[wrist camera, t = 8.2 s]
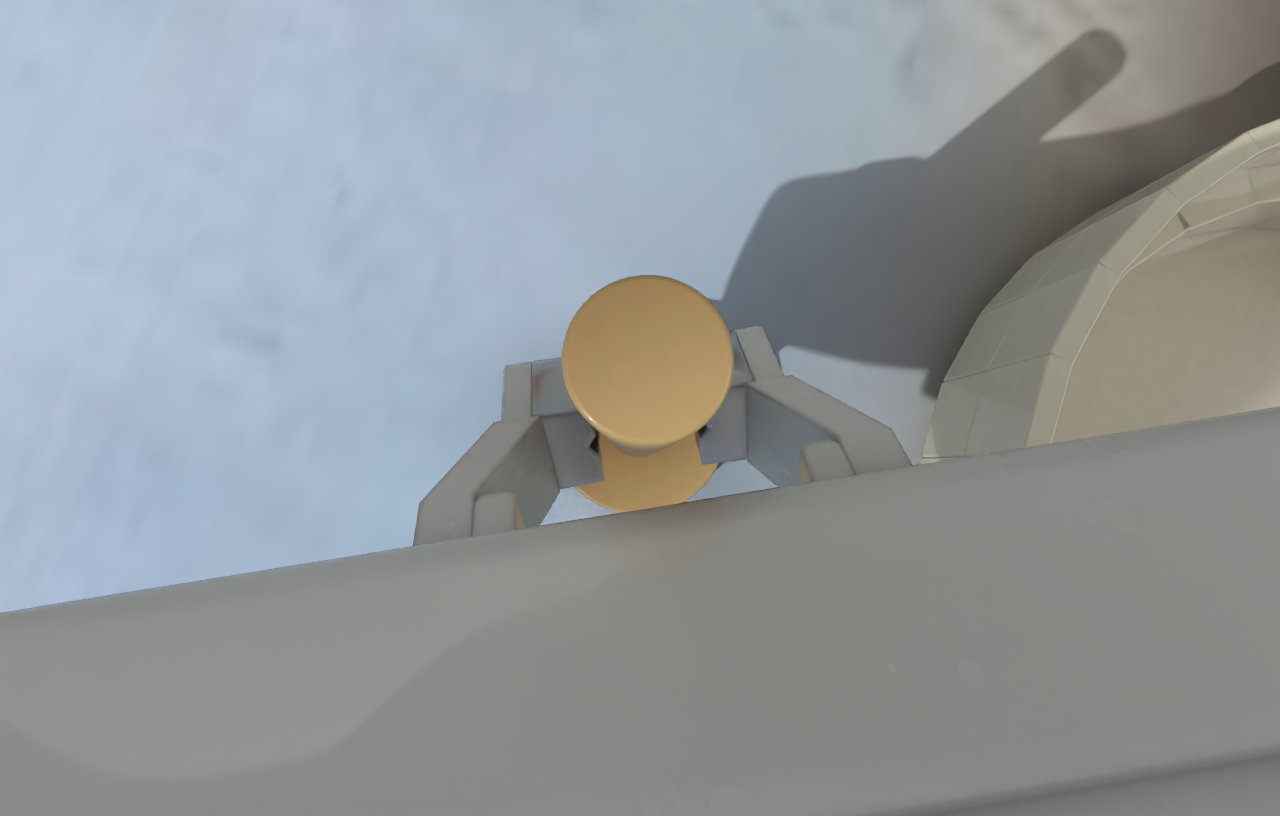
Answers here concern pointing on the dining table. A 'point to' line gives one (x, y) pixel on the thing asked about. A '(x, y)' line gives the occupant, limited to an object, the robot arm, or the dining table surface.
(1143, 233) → the bowl
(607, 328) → the wooden peg stand
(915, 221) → the dining table surface
